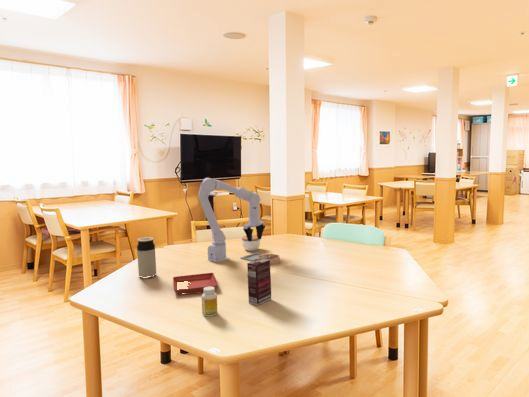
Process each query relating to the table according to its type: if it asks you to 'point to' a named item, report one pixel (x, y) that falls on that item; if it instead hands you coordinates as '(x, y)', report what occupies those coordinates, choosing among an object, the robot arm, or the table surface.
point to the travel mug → (146, 256)
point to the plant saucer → (195, 282)
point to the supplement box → (259, 281)
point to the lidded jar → (251, 243)
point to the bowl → (272, 261)
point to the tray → (251, 257)
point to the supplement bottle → (209, 301)
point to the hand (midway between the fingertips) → (254, 239)
